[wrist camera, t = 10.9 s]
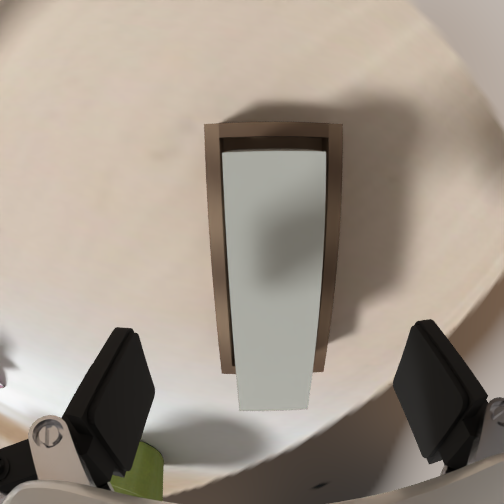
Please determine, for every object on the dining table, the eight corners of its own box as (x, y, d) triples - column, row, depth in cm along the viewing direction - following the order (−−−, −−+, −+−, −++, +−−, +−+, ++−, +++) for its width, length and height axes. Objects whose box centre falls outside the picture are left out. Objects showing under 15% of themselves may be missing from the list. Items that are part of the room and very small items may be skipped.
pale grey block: (236, 149, 18) (221, 152, 11) (301, 148, 18) (325, 151, 11) (244, 342, 23) (239, 410, 16) (296, 340, 22) (307, 409, 16)
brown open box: (212, 127, 18) (204, 124, 15) (330, 126, 18) (342, 124, 15) (225, 349, 24) (221, 373, 21) (317, 347, 24) (323, 371, 21)
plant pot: (174, 478, 34) (161, 539, 23) (99, 451, 33) (76, 508, 22) (190, 447, 30) (175, 525, 19) (98, 412, 29) (64, 483, 18)
